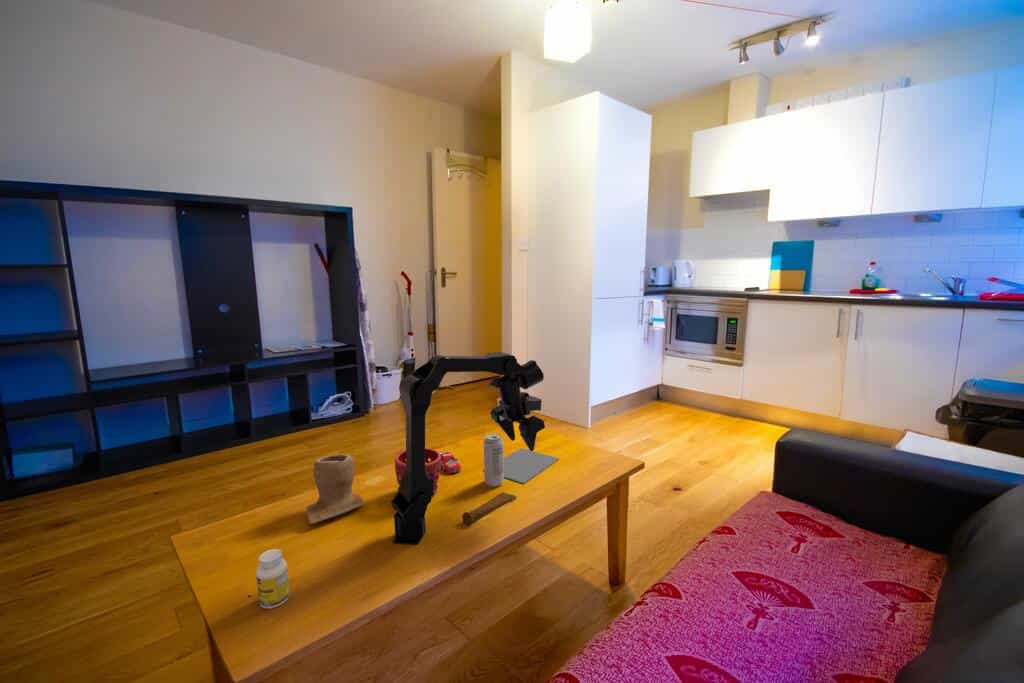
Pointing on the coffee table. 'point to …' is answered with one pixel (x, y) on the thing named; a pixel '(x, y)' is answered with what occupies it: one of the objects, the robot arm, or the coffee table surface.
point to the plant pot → (430, 467)
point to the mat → (526, 465)
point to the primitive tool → (487, 507)
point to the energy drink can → (493, 460)
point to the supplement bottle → (272, 579)
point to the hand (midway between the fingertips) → (522, 445)
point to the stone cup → (333, 488)
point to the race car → (449, 463)
